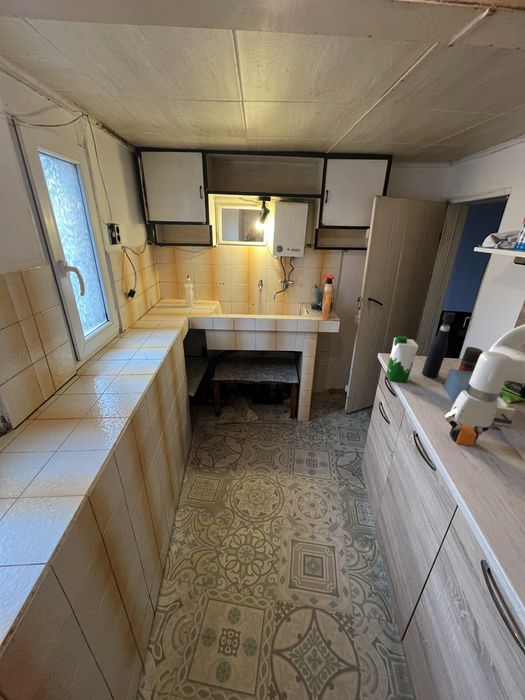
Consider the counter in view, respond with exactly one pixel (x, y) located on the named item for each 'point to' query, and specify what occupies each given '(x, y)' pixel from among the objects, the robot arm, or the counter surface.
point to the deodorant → (470, 359)
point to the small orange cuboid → (466, 435)
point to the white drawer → (503, 413)
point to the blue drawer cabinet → (457, 382)
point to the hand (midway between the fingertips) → (461, 439)
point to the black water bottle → (438, 348)
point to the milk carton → (401, 359)
